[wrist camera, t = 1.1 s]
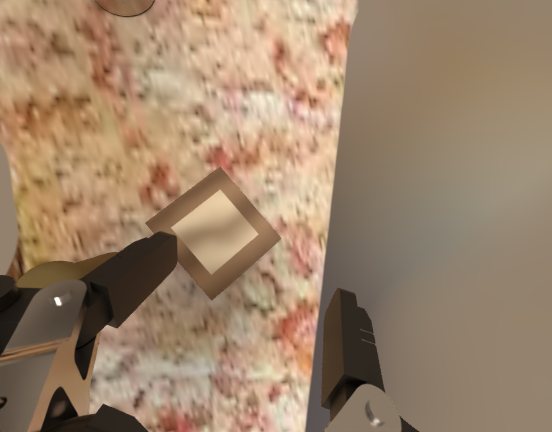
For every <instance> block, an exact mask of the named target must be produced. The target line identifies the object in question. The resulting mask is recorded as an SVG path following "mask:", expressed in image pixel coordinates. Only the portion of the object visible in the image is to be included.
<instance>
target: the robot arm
mask: <svg viewBox="0 0 552 432" xmlns="http://www.w3.org/2000/svg"><path fill="white" fill-rule="evenodd" d="M95 1H96V2H97V3H98V4H99V5H100V6H101V7H102V8H103V9H105V10H107V11H108V12H110V13H113V14H116V15H122V16H132V15H137V14H140V13H142V12H144V11H145V10H147V9H148V8H149V7H150V6H151V5H152V3H153V1H154V0H95ZM177 260H178V255H177V237H176V236H175V235H173V234H170V233H166V232H163V231H158V232H157V233H155V234H154V235H153V236H151V237H150V238H143V239H141V240H138V241H135V242H133V243H132V244H130V245H129V246H127V247H126V248H124V250H121V251H120V252H119V253H117V254H116V255H115V256H113V257H111V258H110V259H108V260H107V261H105V262H104V263H103V264H101V265H100V266H98V267H97V268H95V269H94V270H92V271H91V272H89V273H88V274H87V275H85V276H84V277H82V278H81V279H79V280H75V279H69V280H62V281H59V282H55V283H53V284H50V285H48V286H46V287H45V288H22V287H17V285H16V283H15V281H14V279H13V278H12V277H9V276H5V275H0V432H148V431H147V430H146V429H145V428H144V427H143V426H142V425H141V423H140V422H139V421H138V420H137V419H136V418H135V417H134V416H131V415H129V414H126V413H124V412H122V411H119V410H117V409H114V408H112V407H110V406H107V405H105V404H103V405H102V406H101V407H100V409H99V410H98V411H97V413H96V414H89V407H90V382H91V377H92V372H93V368H94V363H95V359H96V354H97V349H98V345H99V340H100V336H101V332H100V331H101V330H102V329H103V328H104V327H105V326H106V325H109V326H112V327H115V328H118V327H119V326H120V325H121V324H122V323H123V322H124V321H125V320H126V319H127V318H128V317H129V316H130V315H131V314H132V313H133V312H134V311H135V310H136V309H137V307H138V306H139V305H140V304H141V303H142V302H143V301H144V300H145V299H146V298H147V297H148V296H149V295H150V294H151V293H152V292H153V291H154V290H155V289H156V288H157V287H158V286H159V285H160V284H161V283H162V282H163V280H164V279H165V278H166V277H167V276H168V275H169V274H170V273H171V272H172V271H173V270H174V268H175V266H176V264H177ZM322 366H323V367H322V396H321V406H322V407H324V408H327V409H330V423H329V424H328V425H327V427H326V428H325V429H324V431H323V432H419V431H417V430H416V429H415V428H413V427H412V426H411V425H409V424H408V423H407V422H406V421H404V420H403V419H402V418H401V417H400V415H399V413H398V411H397V409H396V407H395V405H394V403H393V402H392V401H391V399H390V398H389V397H388V396H387V395H386V393H385V390H384V385H383V380H382V375H381V370H380V364H379V359H378V354H377V349H376V346H375V338H374V335H373V328H372V323H371V320H370V318H369V316H368V314H367V313H366V311H365V309H363V308H360V307H357V301H356V295H355V293H353V292H350V291H346V290H343V289H340V288H337V290H336V291H335V293H334V295H333V298H332V300H331V302H330V304H329V306H328V308H327V310H326V313H325V318H324V334H323V363H322ZM88 414H89V415H88Z"/></svg>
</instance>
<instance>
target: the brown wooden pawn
mask: <svg viewBox="0 0 552 432" xmlns="http://www.w3.org/2000/svg"><path fill="white" fill-rule="evenodd" d="M117 253H119V252H112V253H107V254H104V255H100V256H97V257H94V258H90V259H87V260H84V261H80V262H77V263H72V262H67V261H53V262H48V263H43V264H41V265H39V266H36V267H34V268H32V269H30V270H29V271H28V272H27V273H25V274H24V275H23V276H22V277H21V278H20V279H19V281H18V282H17V284H16V285H17V287H22V288H45V287H46V286H48V285H50V284H53V283H55V282H59V281H62V280H69V279H75V280H79V279H81V278H82V277H84V276H85V275H87V274H88V273H89V272H91V271H92V270H94V269H95V268H97V267H98V266H100V265H101V264H103V263H104V262H105V261H107V260H108V259H110V258H111V257H113V256H115V255H116V254H117Z"/></svg>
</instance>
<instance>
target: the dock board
mask: <svg viewBox="0 0 552 432" xmlns="http://www.w3.org/2000/svg"><path fill="white" fill-rule="evenodd" d="M146 225H147V226H148V227H149V228H150V229H151V230H152V232H153V233H154V234H155V233H157V232H158V231H163V232H166V233H170V234H173V235H175V236H176V237H177V255H178V260H177V261H178V262H179V263H180V264H181V265H182V267H183V268H184V269H185V270H186V271H187V272H188V274H189V275H190V276H191V277H192V278H193V279H194V281H195V282H196V283H197V284H198V285H199V286H200V288H201V289H202V290H203V291H204V292H205V293H206V295H207V296H208V297H209V298H210V299H211V300H213V299H214V298H215V297H216V296H217V295H218V294H220V293H221V292H222V291H223V290H224V289H225V288H226V287H228V286H229V285H230V284H231V283H232V282H233V281H234V280H235V279H237V278H238V277H239V276H240V275H241V274H242V273H243V272H244V271H246V270H247V269H248V268H249V267H250V266H251V265H252V264H253V263H255V262H256V261H257V260H258V259H259V258H260V257H261V256H262V255H264V254H265V253H266V252H267V251H268V250H269V249H270V248H271V247H273V246H274V245H275V244H276V243H277V242H278V241H279V240H280V239H281V237H280V236H279V235H278V234H277V233H276V232H275V230H274V229H273V228H272V227H271V226H270V225H269V223H268V222H267V221H266V220H265V219H264V218H263V216H262V215H261V214H260V213H259V212H258V211H257V209H256V208H255V207H254V206H253V205H252V204H251V202H250V201H249V200H248V199H247V198H246V197H245V195H244V194H243V193H242V192H241V191H240V189H239V188H238V187H237V186H236V185H235V184H234V182H233V181H232V180H231V179H230V178H229V177H228V175H227V174H226V173H225V172H224V171H223V170H222V168H221V167H219V168H218V169H216V170H215V171H214V172H212V173H211V174H210V175H208V176H207V177H206V178H204V179H203V180H202V181H200V182H199V183H198V184H196V185H195V186H194V187H192V188H191V189H190V190H188V191H187V192H186V193H184V194H183V195H182V196H180V197H179V198H178V199H177V200H175V201H174V202H173V203H171V204H170V205H169V206H167V207H166V208H165V209H163V210H162V211H161V212H159V213H158V214H157V215H155V216H154V217H153V218H151V219H150V220H149V221H147V222H146Z"/></svg>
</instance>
